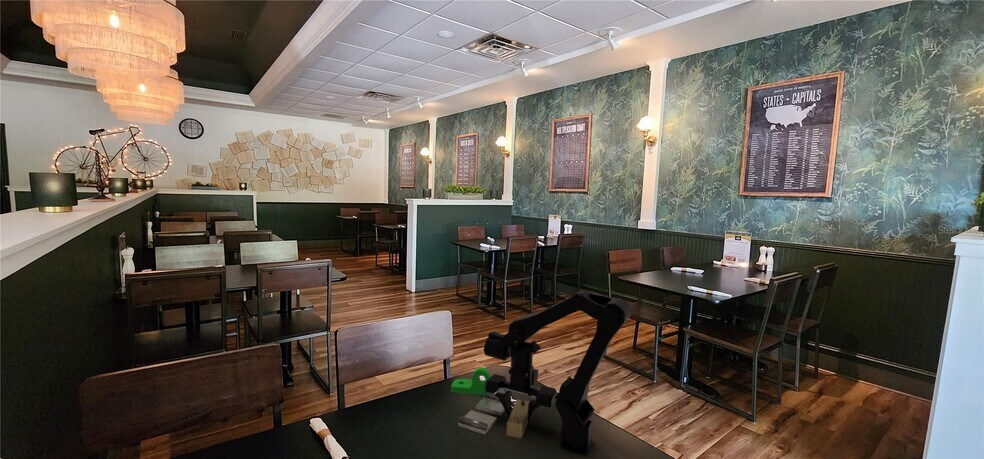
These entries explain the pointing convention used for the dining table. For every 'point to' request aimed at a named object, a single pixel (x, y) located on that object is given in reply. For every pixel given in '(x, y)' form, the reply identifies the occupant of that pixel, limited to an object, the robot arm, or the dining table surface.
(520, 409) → the bar
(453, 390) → the mechanical part
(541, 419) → the dining table surface
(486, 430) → the chain end
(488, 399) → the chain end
